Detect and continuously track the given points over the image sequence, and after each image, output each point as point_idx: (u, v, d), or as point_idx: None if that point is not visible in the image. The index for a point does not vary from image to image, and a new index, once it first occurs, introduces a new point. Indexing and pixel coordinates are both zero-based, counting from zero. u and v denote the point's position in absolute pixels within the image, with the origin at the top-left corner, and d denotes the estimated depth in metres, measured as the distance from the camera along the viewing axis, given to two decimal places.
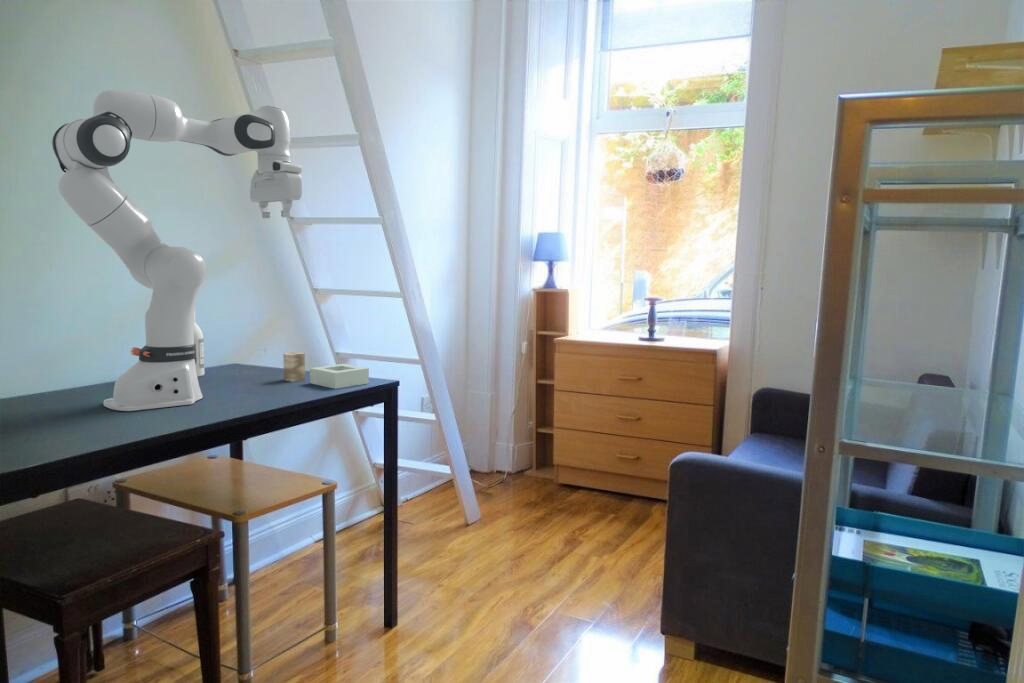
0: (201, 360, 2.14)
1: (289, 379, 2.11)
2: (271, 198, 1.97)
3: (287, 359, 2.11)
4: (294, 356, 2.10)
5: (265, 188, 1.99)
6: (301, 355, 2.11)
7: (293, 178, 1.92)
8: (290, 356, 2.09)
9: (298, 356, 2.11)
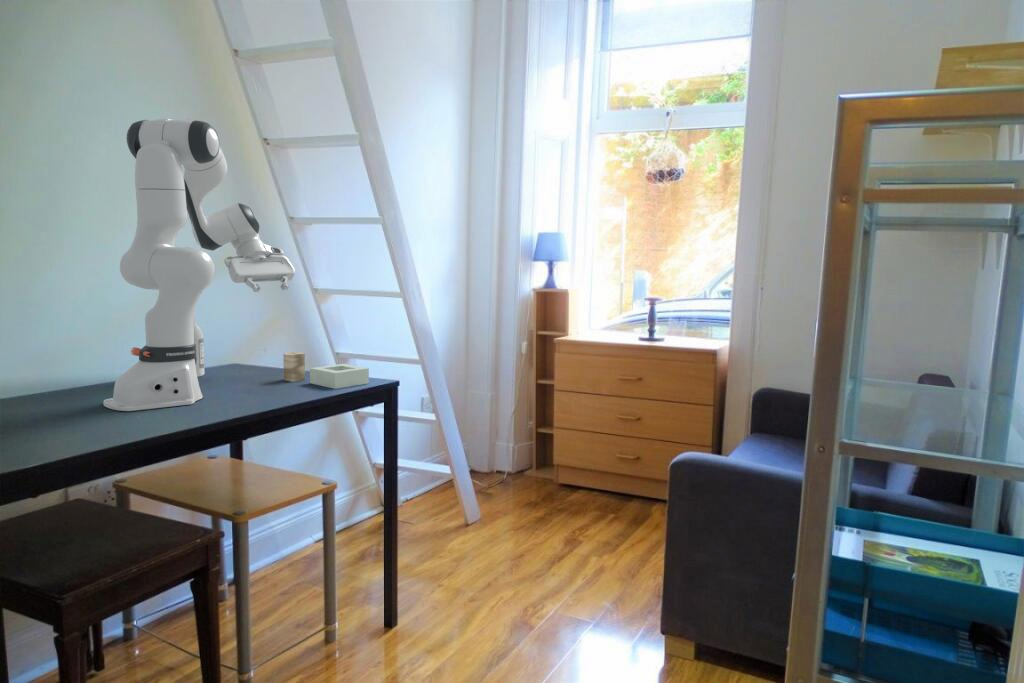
0: (201, 360, 2.14)
1: (289, 379, 2.11)
2: (269, 273, 2.19)
3: (287, 359, 2.11)
4: (294, 356, 2.10)
5: (257, 266, 2.17)
6: (301, 355, 2.11)
7: None
8: (290, 356, 2.09)
9: (298, 356, 2.11)
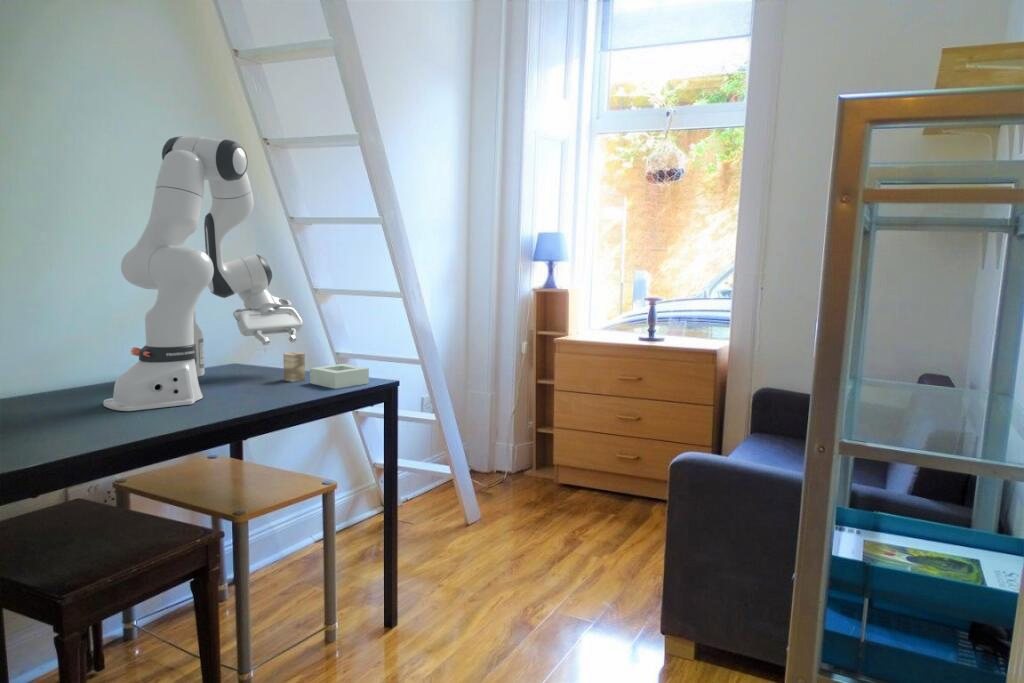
0: (201, 360, 2.14)
1: (289, 379, 2.11)
2: (278, 325, 2.18)
3: (287, 359, 2.11)
4: (294, 356, 2.10)
5: (266, 319, 2.16)
6: (301, 355, 2.11)
7: None
8: (290, 356, 2.09)
9: (298, 356, 2.11)
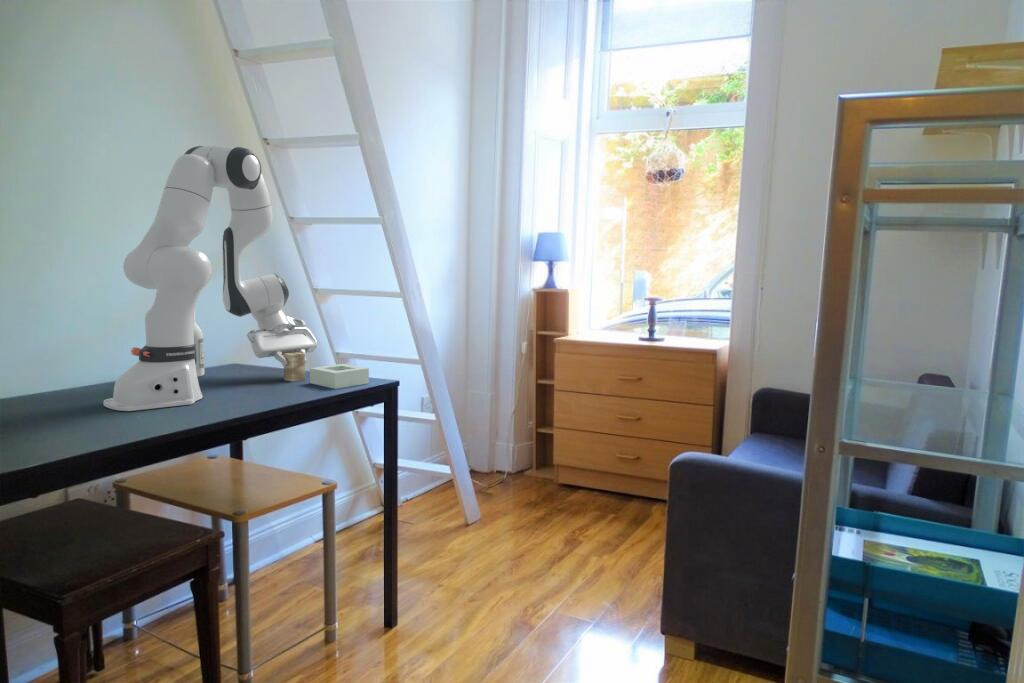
0: (201, 360, 2.14)
1: (289, 379, 2.11)
2: (293, 346, 2.13)
3: None
4: (294, 356, 2.10)
5: (280, 340, 2.12)
6: (301, 355, 2.11)
7: None
8: (290, 356, 2.09)
9: (298, 356, 2.11)
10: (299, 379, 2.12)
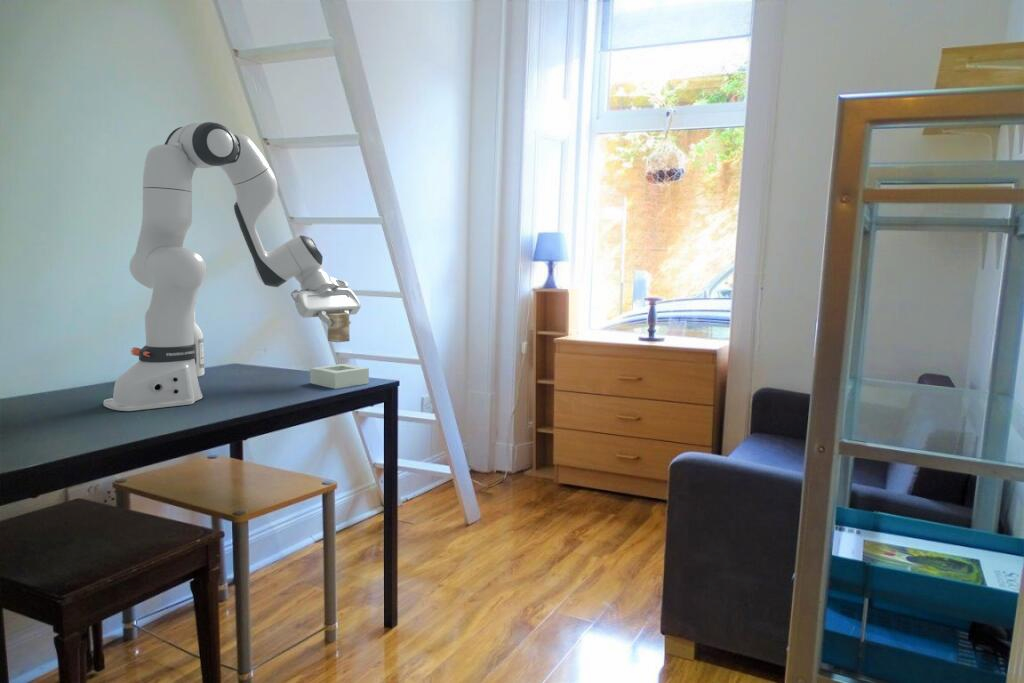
0: (200, 360, 2.14)
1: (334, 340, 2.05)
2: (337, 307, 2.08)
3: None
4: (339, 316, 2.04)
5: (324, 300, 2.07)
6: (346, 315, 2.06)
7: None
8: (335, 316, 2.04)
9: (343, 316, 2.05)
10: (344, 340, 2.06)
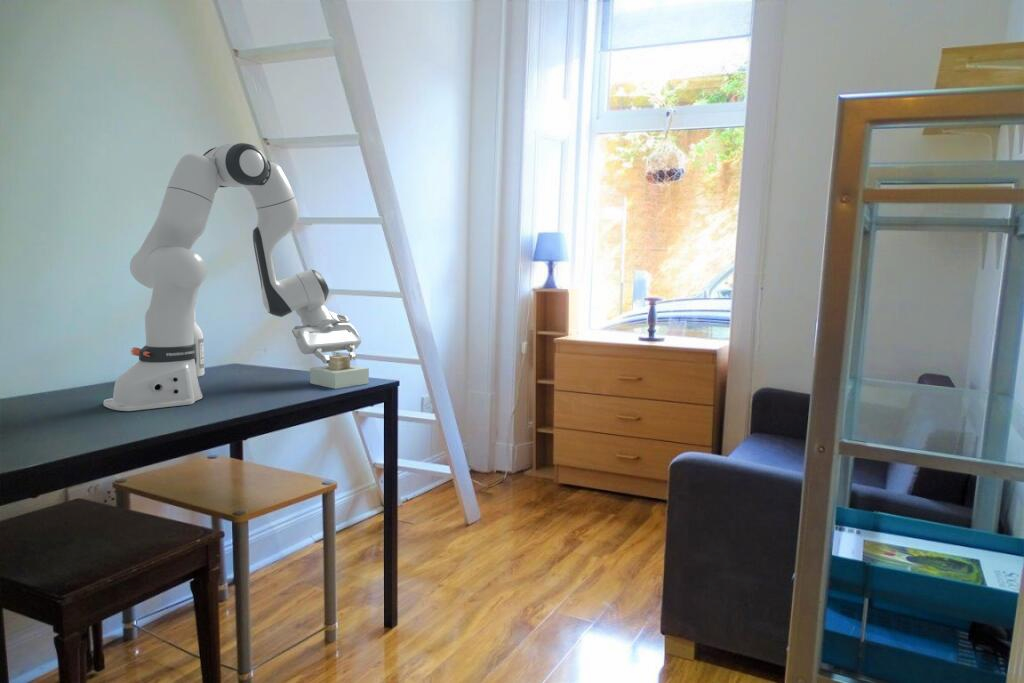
0: (201, 360, 2.14)
1: None
2: (338, 343, 2.09)
3: (332, 362, 2.06)
4: (340, 359, 2.05)
5: (325, 336, 2.08)
6: (346, 358, 2.07)
7: None
8: (335, 359, 2.05)
9: (343, 359, 2.06)
10: None
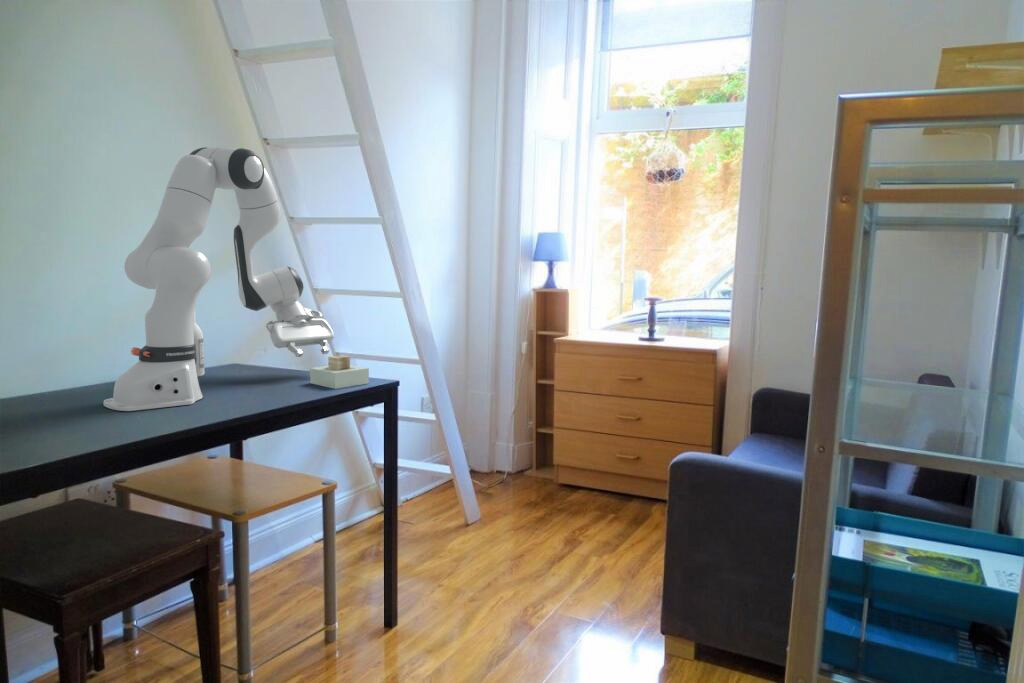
0: (201, 360, 2.14)
1: None
2: (310, 337, 2.17)
3: (332, 362, 2.06)
4: (340, 359, 2.05)
5: (298, 330, 2.16)
6: (346, 358, 2.07)
7: None
8: (335, 359, 2.05)
9: (343, 359, 2.06)
10: None
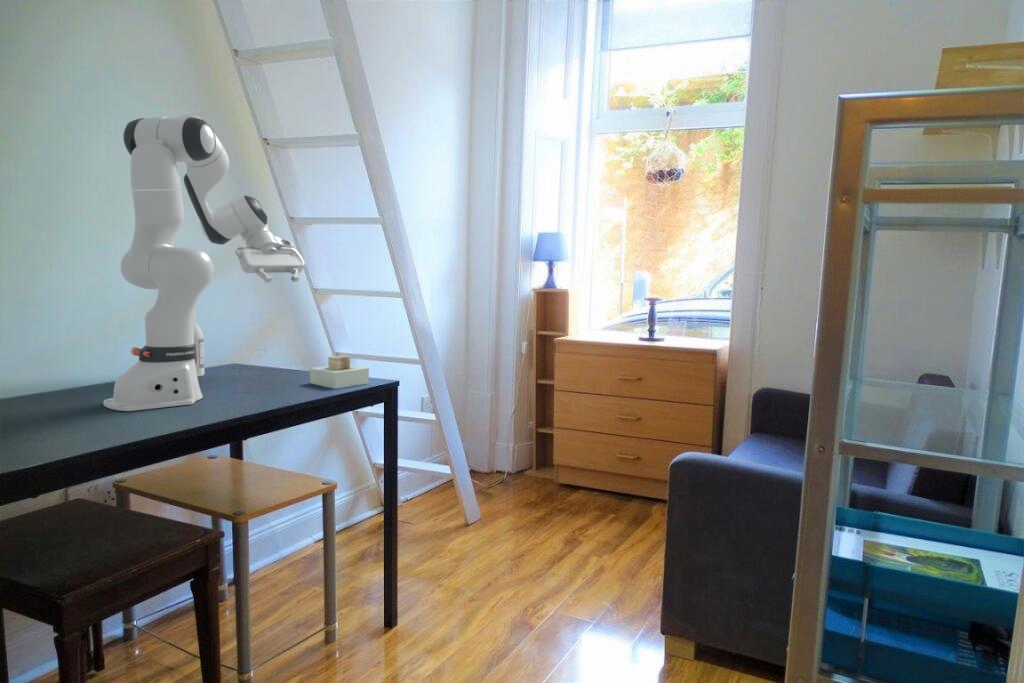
0: (201, 360, 2.14)
1: None
2: (280, 264, 2.18)
3: (332, 362, 2.06)
4: (340, 359, 2.05)
5: (268, 257, 2.16)
6: (346, 358, 2.07)
7: None
8: (335, 359, 2.05)
9: (343, 359, 2.06)
10: None
